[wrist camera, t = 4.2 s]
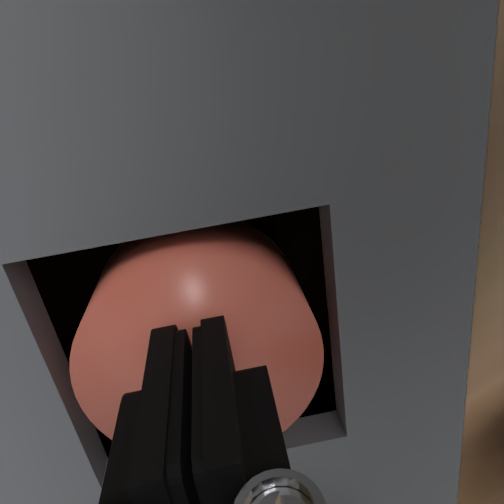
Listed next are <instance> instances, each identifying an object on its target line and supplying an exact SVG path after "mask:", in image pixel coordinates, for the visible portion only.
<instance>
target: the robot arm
mask: <svg viewBox="0 0 504 504" xmlns="http://www.w3.org/2000/svg"><path fill="white" fill-rule="evenodd" d="M99 504H327V503H326V501H325V499H324V497H323V495H322V493H321V491H320V490H319V488H318V487H317V486H316V484H315V483H314V482H313V481H312V480H311V479H309V478H308V477H307V476H306V475H304V474H302V473H300V472H297V471H294V470H292V469H291V467H290V463H289V459H288V455H287V450H286V446H285V442H284V438H283V433H282V429H281V425H280V421H279V416H278V412H277V408H276V403H275V399H274V395H273V391H272V386H271V382H270V378H269V374H268V369H267V366H266V365H264V366H259V367H254V368H249V369H244V370H239V371H236V370H235V365H234V361H233V356H232V351H231V346H230V341H229V337H228V332H227V327H226V322H225V318H224V315H222V316H216V317H211V318H206V319H201V321H200V326H198V327H193V328H192V349H191V345H190V341H189V337H188V334H187V331H186V329H182V330H178V328H177V326H176V325H170V326H165V327H160V328H154V329H152V330H151V333H150V339H149V345H148V351H147V358H146V364H145V370H144V376H143V382H142V389H141V390H139V391H134V392H129V393H125V394H124V395H123V396H122V399H121V402H120V406H119V411H118V416H117V420H116V425H115V430H114V434H113V439H112V443H111V448H110V453H109V457H108V462H107V467H106V471H105V476H104V480H103V485H102V490H101V494H100V499H99Z"/></svg>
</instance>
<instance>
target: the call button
mask: <svg viewBox="0 0 504 504" xmlns="http://www.w3.org/2000/svg"><path fill="white" fill-rule="evenodd" d="M222 315H224V318H225V322H226V327H227V332H228V337H229V341H230V346H231V351H232V356H233V361H234V365H235V370H236V371H239V370H244V369H249V368H254V367H259V366H264V365H266V366H267V369H268V374H269V378H270V382H271V386H272V391H273V395H274V399H275V403H276V408H277V412H278V416H279V421H280V425H281V429H282V432H284V431H285V430H286V429H288V428H289V427H290V426H291V425H292V424H293V423H294V422H295V421H296V420H297V419H298V418H299V417H300V415H301V414H302V413H303V412H304V411H305V409H306V408H307V406H308V405H309V403H310V402H311V400H312V399H313V397H314V394H315V392H316V390H317V388H318V386H319V382H320V379H321V376H322V370H323V363H324V347H323V342H322V336H321V333H320V330H319V327H318V324H317V322H316V320H315V317H314V315H313V313H312V311H311V309H310V307H309V305H308V302H307V300H306V298H305V296H304V294H303V292H302V290H301V287H300V285H299V283H298V281H297V279H296V277H295V275H294V272H293V270H292V268H291V266H290V264H289V262H288V261H287V259H286V257H285V255H284V254H283V253H282V251H281V250H280V249H279V247H278V246H277V245H276V244H275V243H274V242H273V241H272V240H271V239H270V238H269V237H267V236H266V235H265V234H263V233H262V232H261V231H259V230H258V229H256V228H254V227H253V226H251V225H249V224H247V223H245V222H242V221H236V222H231V223H226V224H220V225H215V226H209V227H204V228H198V229H193V230H187V231H182V232H177V233H171V234H166V235H160V236H155V237H149V238H144V239H138V240H133V241H127V242H123V243H122V244H121V245H120V246H119V247H118V248H117V249H116V251H115V252H114V253H113V255H112V256H111V257H110V259H109V261H108V262H107V264H106V266H105V268H104V270H103V272H102V274H101V277H100V279H99V281H98V283H97V286H96V288H95V290H94V293H93V295H92V297H91V300H90V302H89V304H88V306H87V309H86V311H85V313H84V316H83V318H82V320H81V322H80V325H79V327H78V329H77V332H76V335H75V337H74V340H73V343H72V348H71V353H70V368H69V372H70V378H71V385H72V388H73V391H74V394H75V397H76V399H77V401H78V403H79V405H80V407H81V409H82V410H83V412H84V413H85V414H86V416H87V417H88V419H89V420H90V421H91V422H92V423H93V424H94V425H95V426H96V427H97V428H98V429H99V430H100V431H101V432H102V433H103V434H105V435H106V436H107V437H108V438H110V439H111V440H112V439H113V434H114V430H115V425H116V420H117V416H118V411H119V406H120V402H121V399H122V396H123V395H124V394H125V393H129V392H134V391H139V390H141V389H142V382H143V376H144V370H145V364H146V358H147V351H148V345H149V339H150V333H151V330H152V329H154V328H160V327H165V326H170V325H176V326H177V328H178V330H182V329H186V331H187V334H188V337H189V341H190V345H191V349H192V328H193V327H198V326H200V321H201V319H206V318H211V317H216V316H222Z"/></svg>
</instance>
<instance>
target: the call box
mask: <svg viewBox="0 0 504 504" xmlns="http://www.w3.org/2000/svg"><path fill="white" fill-rule="evenodd" d="M498 10H499V0H0V504H99V499H100V494H101V490H102V485H103V480H104V476H105V471H106V467H107V462H108V457H107V455H106V452H105V450H104V447H103V445H102V443H101V440H100V438H99V435H98V433H97V431H96V428H95V426H94V424H93V423H92V422H91V421H90V420H89V419H88V417H87V416H86V414H85V413H84V412H83V410H82V409H81V407H80V405H79V403H78V401H77V399H76V397H75V394H74V391H73V388H72V385H71V378H70V372H69V368H70V366H69V363H68V361H67V358H66V356H65V354H64V351H63V349H62V346H61V344H60V342H59V339H58V337H57V334H56V332H55V330H54V327H53V325H52V322H51V320H50V318H49V315H48V313H47V310H46V308H45V306H44V303H43V301H42V298H41V296H40V294H39V291H38V289H37V286H36V284H35V282H34V279H33V277H32V274H31V272H30V269H29V267H28V265H27V262H26V260H29V259H35V258H40V257H46V256H51V255H57V254H62V253H68V252H73V251H78V250H84V249H89V248H95V247H100V246H106V245H111V244H117V243H122V242H127V241H133V240H138V239H144V238H149V237H155V236H160V235H166V234H171V233H177V232H182V231H187V230H193V229H198V228H204V227H209V226H215V225H220V224H226V223H231V222H236V221H242V220H247V219H253V218H258V217H264V216H269V215H275V214H280V213H285V212H291V211H296V210H302V209H307V208H313V207H318V206H319V214H320V225H321V237H322V249H323V260H324V272H325V283H326V295H327V307H328V318H329V330H330V341H331V353H332V365H333V376H334V388H335V399H336V410H335V411H330V412H326V413H321V414H316V415H311V416H306V417H302V418H298V419H297V420H296V421H295V422H294V423H293V424H292V425H291V426H290V427H289V428H288V429H286V430H285V431H284V432H282V433H283V438H284V442H285V446H286V450H287V455H288V459H289V463H290V467H291V469H292V470H294V471H297V472H300V473H302V474H304V475H306V476H307V477H308V478H309V479H311V480H312V481H313V482H314V483H315V484H316V486H317V487H318V488H319V490H320V491H321V493H322V495H323V497H324V499H325V501H326V503H327V504H457V498H458V486H459V474H460V462H461V450H462V438H463V426H464V414H465V402H466V390H467V379H468V367H469V355H470V343H471V331H472V319H473V307H474V295H475V283H476V271H477V260H478V248H479V236H480V224H481V212H482V200H483V188H484V176H485V164H486V152H487V141H488V129H489V117H490V105H491V93H492V81H493V69H494V57H495V45H496V33H497V22H498Z"/></svg>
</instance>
